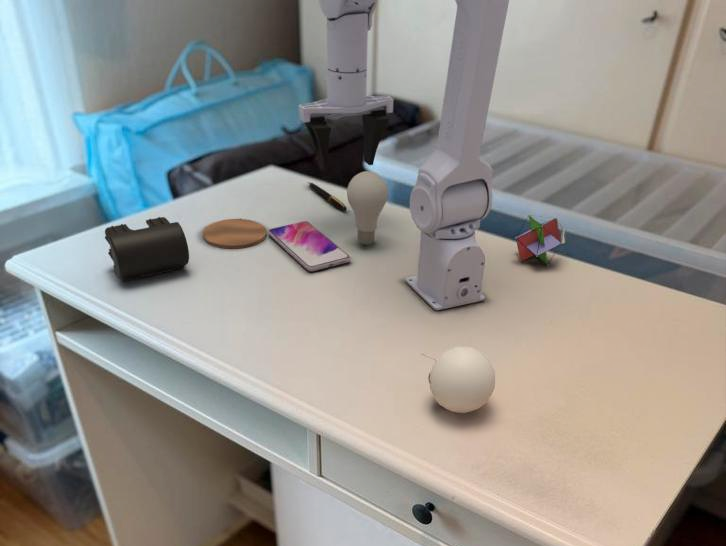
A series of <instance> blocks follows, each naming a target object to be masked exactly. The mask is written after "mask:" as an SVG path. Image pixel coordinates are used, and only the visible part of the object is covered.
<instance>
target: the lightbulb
mask: <svg viewBox="0 0 726 546" xmlns="http://www.w3.org/2000/svg"><path fill="white" fill-rule="evenodd" d="M388 197H389V190H388V186H387V183H386V182H385V180H384V178H383V177H382V176H381V175H379V174H378V173H376V172H373V171H361V172H359V173H357V174H355V175H354V176H353V177H352V178H351V179H350V181H349V182H348V185H347V188H346V199H347V201H348V204H349V206H350V208H351V210H352V212H353V214H354V217H355V227H356V229H357V241H358V242H359V244H362V245H363V246H369V245H370V244H372V243H374V242H375V237H376V236H375V235H376V229H377V226H378V221H379V216H380V215H381V212H382V211H383V209H384V207H385V205H386V203H387V201H388Z"/></svg>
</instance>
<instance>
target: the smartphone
mask: <svg viewBox="0 0 726 546" xmlns="http://www.w3.org/2000/svg"><path fill="white" fill-rule="evenodd" d="M267 233H268V236H270V237H271V238H272V240H274V241H275V242H276V243H277V244H278V245H279V246H280V247H282V248H283V249H284V250H285V251H286V252H287V254H289V255H290V256H292V258H294V259H295V260H296V261H297V262H298V263H299V264H300V265H301V266H302V267H303V268H305V269H306V270H307V271H309V272H315V271H319V270H320V271H321V270H323V269H328V268H331V267H335V266H339V265H343V264H346V263H349V262H351V256H350V254H348V253H347V252H346V251H344V249H342V248H341V247H340V246H338V245H337V244H336V243H335V242H333V241H332V240H331V239H330V238H329V237H327V236H326V235H325V234H323V232H322V231H320V230H319V229H318V228H316V227H315V226H314V225H313V224H311V222H309V221H306V220H304V221H299V222H294V223H290V224H285V225H282V226H276V227H273V228H269V229H268V232H267Z"/></svg>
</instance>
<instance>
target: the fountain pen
mask: <svg viewBox="0 0 726 546" xmlns="http://www.w3.org/2000/svg"><path fill="white" fill-rule="evenodd" d="M307 184H308V185H309V188H311V189H312V190H313V191H315V192H316V193H317V194H318V195H319V196H320V197H322V198H323V199H325V200H326V201H328V203H329V204H331V205H333V206H334V207H336V208H337V209H339V210H340V211H344V212H346V211H347V210H348V209H347V206H346V205H345V203H343V201H341V200H340V199H338V198H337V197H336V196H334V195H332V194H331V193H329V192H328V191H326V190H324V189H323V188H321V187H320V186H318V185H317V184H315V183H313V182H309V181H307Z"/></svg>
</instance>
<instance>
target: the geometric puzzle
mask: <svg viewBox="0 0 726 546" xmlns="http://www.w3.org/2000/svg"><path fill="white" fill-rule="evenodd" d="M539 217H542V215H541V216H539ZM549 218H552V217H551V216H550V217H549ZM527 219H528V220H529V221H528V222H529V226H530V229H529V230H527V231H525V232H523V233H521V231H522V229H523V228H524V225H522V226H521V228H520V229H519V231H518V233H517V235H516V236H515V241H516V246H517V250H518V256H519V257H518V258H519V263H523V262H525V263H527V264H529V262H526V261H528V260H531V259H533V258H538V260H541V262H543V265H544V266H549V262H548V256H547V252H548V251H550V250H553V249H554V248H555V250H554V252H553V255H552V256H551V258H550V261H552V260H553V258H554V256H555V254H556V253H557V252H558V250H559V249H557V248H558V247H559V246H561V245H563V244H566V238H565V236H566V231H565V228H564V227H563V226H562V225H561V223H560V221H558V217H554V218H552V219H551V220H549V221H545V222H543V223H539V222H538V221H536V219H534V218H533V215H530V214H528V215H527V218H526V219H525V220H524V221H523V222H524V223H523V224H525V223H526V221H527ZM559 226H560V227H559ZM559 228H561V233H560V229H559ZM520 233H521V234H520ZM534 264H535V265H537V264H538V263H536V262H534Z"/></svg>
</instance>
